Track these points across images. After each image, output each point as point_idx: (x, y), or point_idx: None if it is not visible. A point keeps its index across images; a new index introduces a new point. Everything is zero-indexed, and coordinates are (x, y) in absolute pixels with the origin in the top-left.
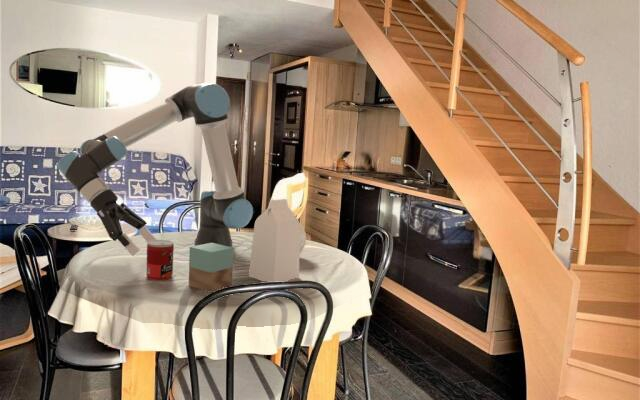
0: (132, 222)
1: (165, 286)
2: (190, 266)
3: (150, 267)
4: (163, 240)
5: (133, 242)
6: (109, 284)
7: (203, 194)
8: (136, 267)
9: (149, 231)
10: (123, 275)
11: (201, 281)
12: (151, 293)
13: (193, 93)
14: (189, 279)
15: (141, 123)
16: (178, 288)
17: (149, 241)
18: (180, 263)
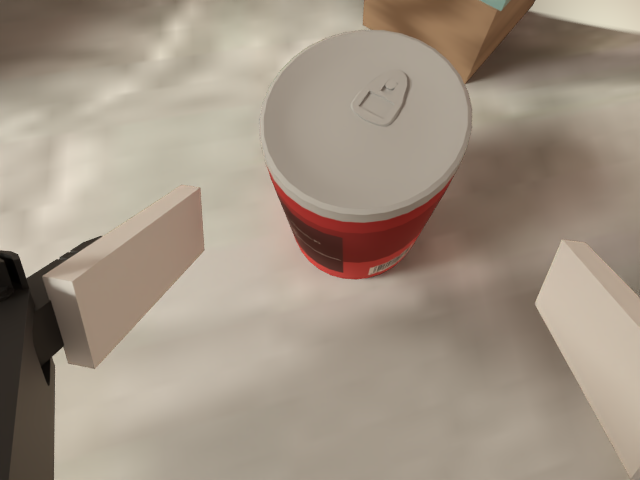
0: (35, 458)
1: (502, 165)
2: (506, 2)
3: (419, 233)
4: (272, 112)
5: (606, 287)
6: (540, 437)
7: None
8: (188, 377)
9: (119, 231)
10: (357, 408)
11: (520, 6)
12: (619, 199)
13: None
14: (476, 60)
15: None
16: (516, 112)
17: (344, 204)
18: (108, 175)
